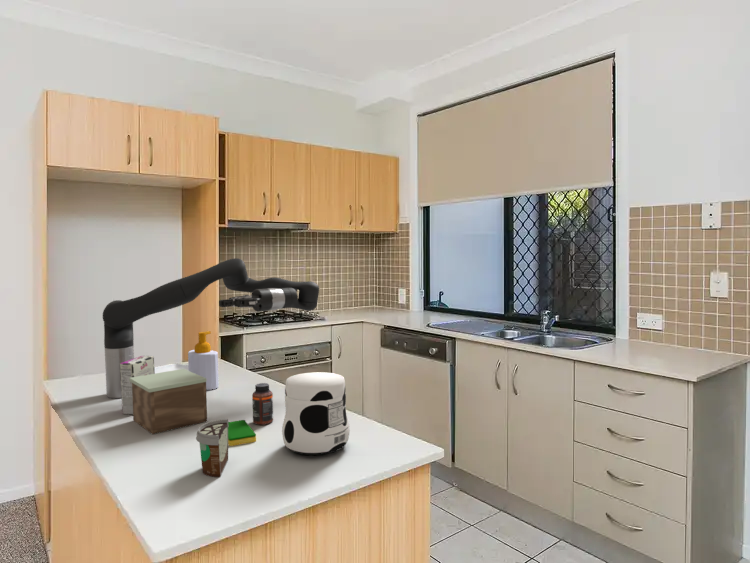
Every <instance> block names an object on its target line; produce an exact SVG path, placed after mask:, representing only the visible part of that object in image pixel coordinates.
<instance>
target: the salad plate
mask: <svg viewBox="0 0 750 563" xmlns="http://www.w3.org/2000/svg"><path fill="white" fill-rule="evenodd" d="M180 369H185V370H188V371H189V367H188V364H183V363H176V362H175V363H170V364H164V365H159V366H154V371H155V374H156V373H162V372H168V371H174V370H180Z"/></svg>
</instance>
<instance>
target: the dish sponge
mask: <svg viewBox="0 0 750 563" xmlns="http://www.w3.org/2000/svg"><path fill="white" fill-rule="evenodd" d="M228 425H229V427H228V447H233V446H238V445H245V444H250V443H255V442H257V433H256V432H255V431H254V430H253V429H252V428H251V426H250V425H249V424H248V422H247V421H246V420H245V419H240V420H233V421H228Z"/></svg>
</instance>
